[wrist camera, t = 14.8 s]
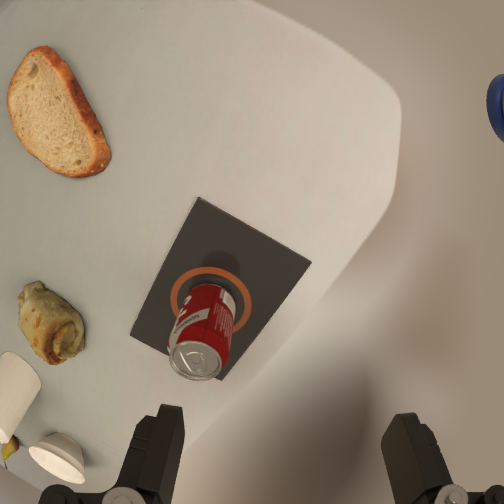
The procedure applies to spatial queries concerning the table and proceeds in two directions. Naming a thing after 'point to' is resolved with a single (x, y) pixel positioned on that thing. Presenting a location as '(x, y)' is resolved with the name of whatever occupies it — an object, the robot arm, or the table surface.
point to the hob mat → (220, 278)
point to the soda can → (202, 333)
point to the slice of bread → (55, 116)
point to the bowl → (60, 457)
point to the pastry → (50, 324)
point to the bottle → (15, 392)
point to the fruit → (9, 448)
